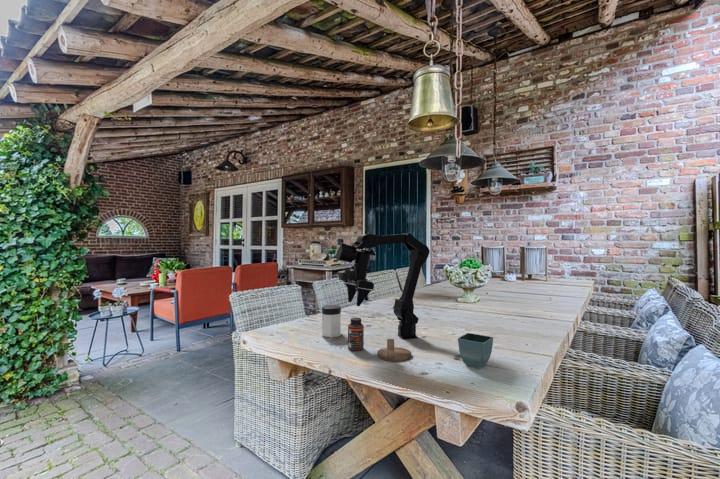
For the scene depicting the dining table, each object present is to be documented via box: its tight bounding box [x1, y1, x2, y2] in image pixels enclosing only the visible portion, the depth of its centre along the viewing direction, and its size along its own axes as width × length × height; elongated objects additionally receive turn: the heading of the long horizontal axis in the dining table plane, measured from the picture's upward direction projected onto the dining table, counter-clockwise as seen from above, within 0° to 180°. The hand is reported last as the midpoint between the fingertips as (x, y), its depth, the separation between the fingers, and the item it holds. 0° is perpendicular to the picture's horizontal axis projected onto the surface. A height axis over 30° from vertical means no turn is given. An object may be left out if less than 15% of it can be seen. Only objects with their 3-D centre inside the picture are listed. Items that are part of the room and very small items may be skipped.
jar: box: [321, 304, 342, 339], centre depth 148 cm, size 9×8×12 cm
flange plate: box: [376, 338, 412, 363], centre depth 121 cm, size 12×12×7 cm
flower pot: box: [457, 332, 494, 369], centre depth 112 cm, size 9×9×9 cm
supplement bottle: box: [347, 317, 365, 352], centre depth 129 cm, size 6×6×11 cm
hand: (353, 304), depth 136 cm, fingers open, 9 cm apart
